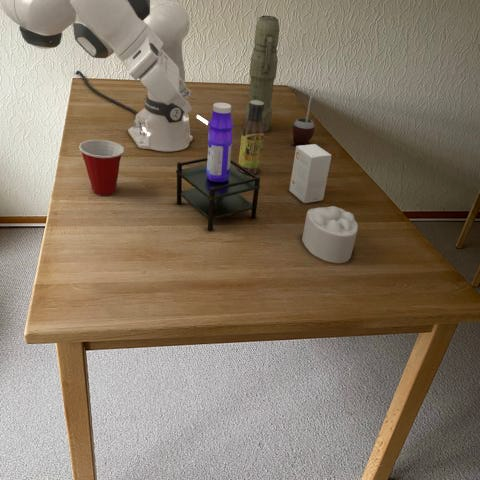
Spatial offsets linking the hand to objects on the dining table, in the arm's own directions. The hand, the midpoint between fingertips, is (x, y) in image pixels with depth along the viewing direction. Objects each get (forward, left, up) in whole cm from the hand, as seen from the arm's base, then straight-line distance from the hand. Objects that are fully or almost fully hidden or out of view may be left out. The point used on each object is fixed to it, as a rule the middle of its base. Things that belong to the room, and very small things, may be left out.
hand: (189, 103), depth 113 cm
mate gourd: (-22, +57, -27) cm, 67 cm away
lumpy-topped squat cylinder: (+31, +20, -27) cm, 45 cm away
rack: (+4, +6, -26) cm, 27 cm away
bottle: (+4, +6, -18) cm, 19 cm away
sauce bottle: (-12, +28, -27) cm, 41 cm away
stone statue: (-40, +52, -27) cm, 71 cm away
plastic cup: (-18, -14, -27) cm, 35 cm away
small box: (+8, +33, -27) cm, 43 cm away
